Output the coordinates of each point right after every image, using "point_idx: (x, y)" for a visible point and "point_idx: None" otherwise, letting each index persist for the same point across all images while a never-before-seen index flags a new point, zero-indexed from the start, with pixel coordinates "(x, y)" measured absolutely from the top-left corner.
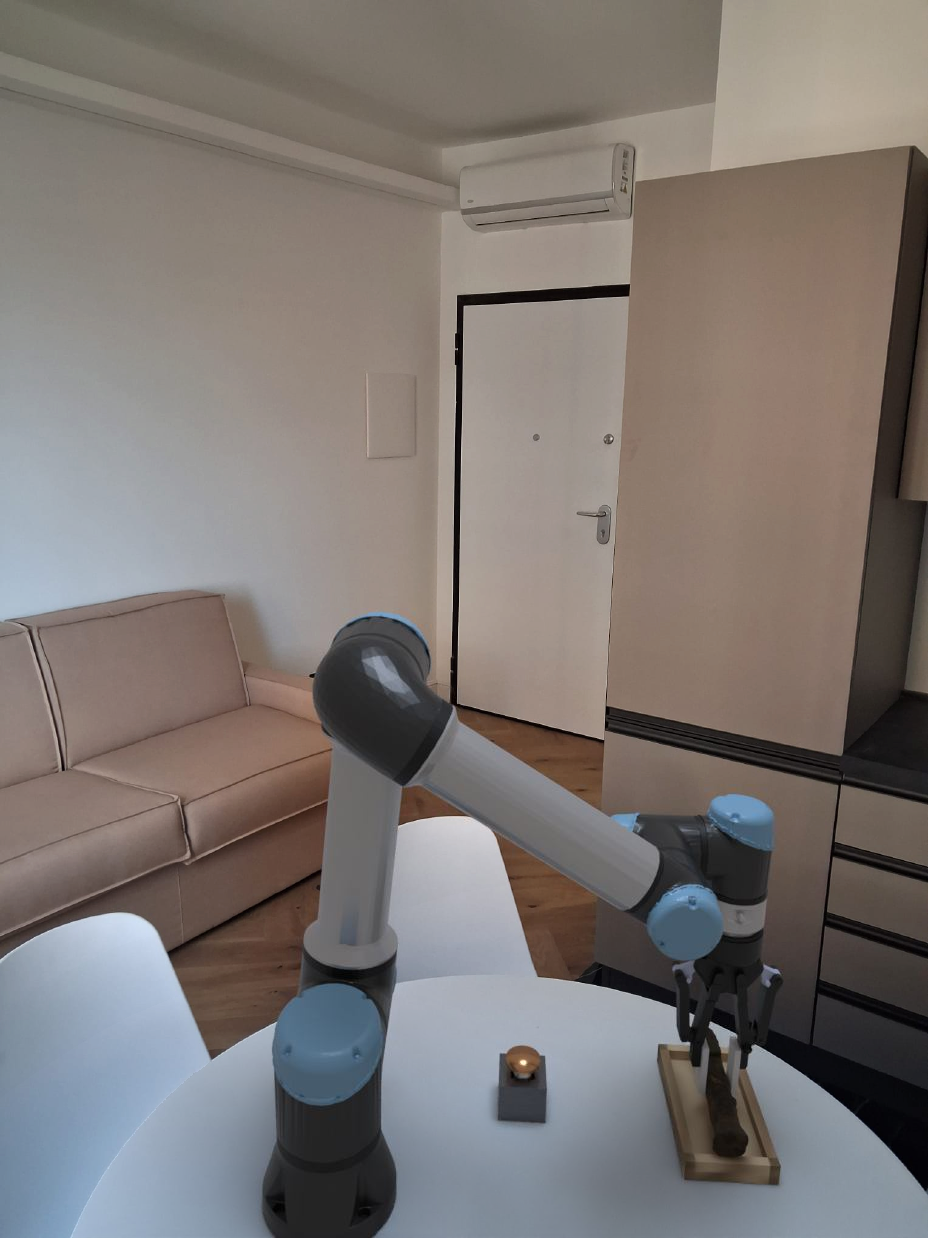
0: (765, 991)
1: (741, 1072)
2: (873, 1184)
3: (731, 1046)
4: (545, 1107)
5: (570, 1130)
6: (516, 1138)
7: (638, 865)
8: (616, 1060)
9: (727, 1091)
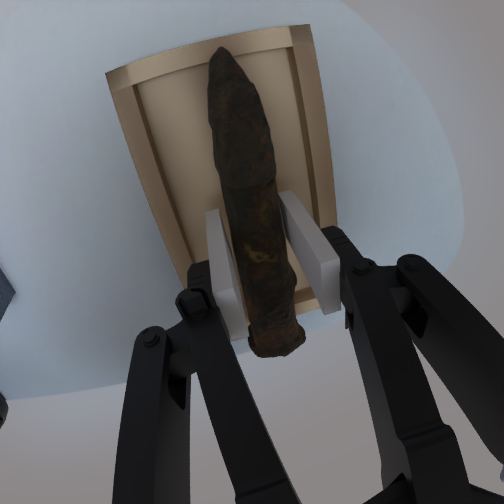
0: (495, 448)
1: (311, 105)
2: (434, 239)
3: (316, 274)
4: (5, 309)
5: (44, 292)
6: (8, 319)
7: None
8: (42, 113)
9: (281, 276)
